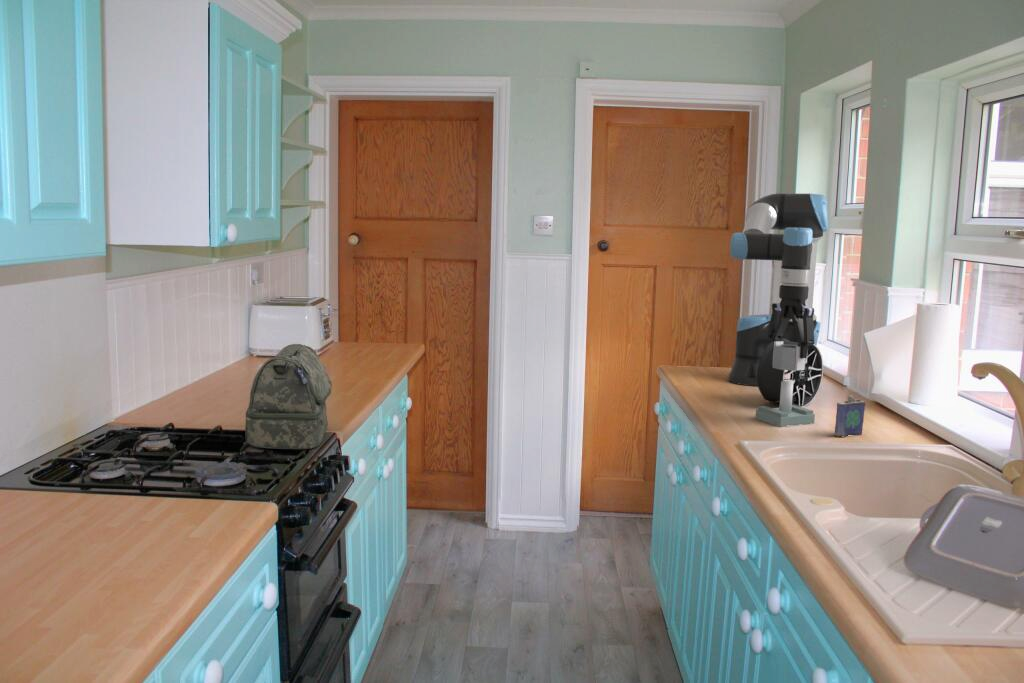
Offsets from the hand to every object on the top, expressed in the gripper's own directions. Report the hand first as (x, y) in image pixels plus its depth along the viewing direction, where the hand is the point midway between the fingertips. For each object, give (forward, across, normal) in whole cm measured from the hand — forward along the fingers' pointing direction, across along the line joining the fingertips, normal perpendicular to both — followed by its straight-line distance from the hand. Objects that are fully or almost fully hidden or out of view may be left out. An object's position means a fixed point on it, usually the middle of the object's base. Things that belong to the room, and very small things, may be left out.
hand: (788, 367), depth 233 cm
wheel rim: (+15, -16, +16) cm, 27 cm away
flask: (+15, +18, +5) cm, 24 cm away
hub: (0, 0, 0) cm, 0 cm away
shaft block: (+15, 0, 0) cm, 15 cm away
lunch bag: (+15, -26, -130) cm, 134 cm away
